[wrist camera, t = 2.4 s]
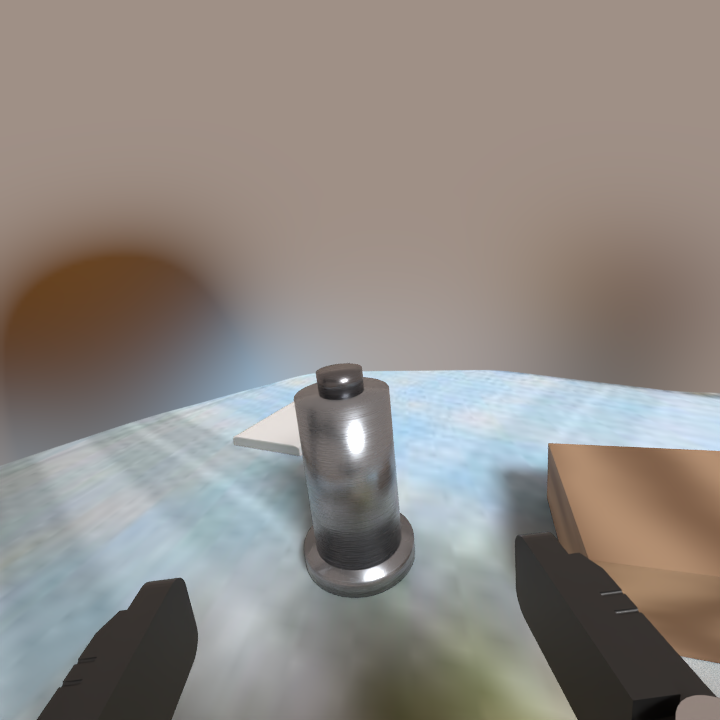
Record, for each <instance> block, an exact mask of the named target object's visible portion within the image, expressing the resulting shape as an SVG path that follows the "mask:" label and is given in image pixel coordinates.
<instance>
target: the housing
mask: <svg viewBox="0 0 720 720" xmlns="http://www.w3.org/2000/svg"><path fill="white" fill-rule="evenodd" d="M316 378H317V383H315V384H312V385H310V386H307V387H305V388H303V389H301V390H300V391H299V392H297V393H296V395H295V396H294V404H295V410H296V417H297V423H298V430H299V436H300V443H301V450H302V456H303V463H304V469H305V476H306V482H307V489H308V495H309V502H310V509H311V515H312V522H313V525H312V527H311V528H310V530H309V531H308V533H307V535H306V538H305V542H304V552H305V558H306V564H307V569H308V572H309V575H310V576H311V578H312V579H313V581H314V582H315V583H316V584H317V585H318V586H319V587H321V588H322V589H324V590H325V591H327V592H329V593H332V594H334V595H338V596H342V597H350V598H359V597H367V596H372V595H376V594H379V593H382V592H384V591H386V590H388V589H390V588H392V587H393V586H395V585H396V584H397V583H399V582H400V581H401V580H402V579H403V578H404V577H405V576H406V575H407V573H408V572H409V570H410V569H411V567H412V565H413V561H414V557H415V545H414V533H413V529H412V526H411V524H410V523H409V521H408V520H407V519H406V517H405V516H404V515H402V514H401V513H400V511H399V499H398V488H397V476H396V464H395V453H394V441H393V429H392V418H391V406H390V395H389V386H388V385H387V384H386V383H385V382H383V381H381V380H378V379H373V378H366V377H363V374H362V367H361V366H360V365H358V364H350V363H348V364H335V365H330V366H326V367H323V368H321V369H319V370H317V371H316Z"/></svg>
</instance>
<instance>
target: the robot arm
mask: <svg viewBox="0 0 720 720" xmlns="http://www.w3.org/2000/svg"><path fill="white" fill-rule="evenodd" d="M515 562H516V592H517V597H518V601H519V605H520V608H521V611H522V613H523V616H524V618H525V620H526V622H527V624H528V626H529V628H530V630H531V632H532V633H533V635H534V637H535V639H536V641H537V643H538V645H539V647H540V649H541V651H542V653H543V654H544V656H545V658H546V660H547V662H548V664H549V666H550V668H551V670H552V672H553V674H554V675H555V677H556V679H557V681H558V683H559V685H560V687H561V689H562V691H563V693H564V694H565V696H566V698H567V700H568V702H569V704H570V706H571V708H572V710H573V712H574V714H575V715H576V717H577V719H578V720H720V698H718V697H716V696H715V695H714V693H713V692H712V691H711V690H710V689H709V688H708V687H707V686H706V685H705V684H704V683H703V681H702V680H701V679H700V678H699V677H698V676H697V675H696V674H695V672H694V671H693V670H692V669H691V668H690V667H689V666H688V664H687V663H686V662H685V661H684V660H683V659H682V658H681V656H680V655H679V654H678V653H677V652H676V651H675V650H674V648H673V647H672V646H671V645H670V644H669V643H668V642H667V641H666V639H665V638H664V637H663V636H662V635H661V634H660V633H659V631H658V630H657V629H656V628H655V627H654V626H653V625H652V623H651V622H650V621H649V620H648V619H647V618H646V617H645V615H644V614H643V613H642V612H639V611H638V608H637V606H636V605H635V604H634V603H633V602H632V601H631V600H630V598H629V597H628V596H627V595H626V594H623V592H622V589H621V588H620V587H619V586H618V585H617V584H616V582H615V581H614V580H613V579H612V578H611V577H610V576H609V575H608V573H607V572H606V571H605V570H604V569H603V568H602V567H600V566H599V565H597V564H596V563H594V562H593V561H591V560H590V559H588V558H587V557H585V556H584V555H582V554H581V553H572V554H568V553H567V551H566V550H565V549H564V548H563V546H562V545H561V544H560V543H559V541H558V540H557V539H556V538H555V536H554V535H553V534H552V533H550V532H541V533H533V534H526V535H518V536H517V537H516V539H515ZM197 643H198V632H197V626H196V622H195V618H194V614H193V611H192V607H191V603H190V599H189V595H188V592H187V588H186V584H185V582H184V580H183V579H182V578H174V579H167V580H159V581H151V582H147V583H145V584H144V585H143V586H142V588H141V589H140V591H139V592H138V594H137V595H136V597H135V598H134V600H133V602H132V603H131V605H130V606H129V608H128V609H127V610H122V611H119V612H118V613H117V614H116V615H115V616H114V617H113V618H112V619H111V620H110V621H108V622H107V623H106V624H105V625H104V626H103V627H102V628H101V629H100V630H99V631H98V632H97V633H96V634H95V635H94V637H93V638H92V640H91V641H90V643H89V644H88V646H87V647H86V649H85V650H84V652H83V653H82V654H81V656H80V657H79V659H78V663H77V664H75V665H74V666H73V668H72V669H71V670H70V672H69V673H68V675H67V676H66V678H65V679H64V681H63V685H62V687H60V688H58V689H57V691H56V692H55V694H54V695H53V697H52V698H51V700H50V701H49V703H48V704H47V706H46V707H45V708H44V710H43V711H42V713H41V714H40V716H39V717H38V719H37V720H171V719H172V717H173V714H174V712H175V709H176V706H177V704H178V701H179V699H180V696H181V693H182V691H183V688H184V686H185V683H186V680H187V678H188V675H189V673H190V670H191V667H192V665H193V662H194V659H195V655H196V651H197Z"/></svg>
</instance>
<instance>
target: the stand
mask: <svg viewBox="0 0 720 720" xmlns="http://www.w3.org/2000/svg"><path fill="white" fill-rule="evenodd" d="M547 499H548V503H549V507H550V511H551V514H552V518H553V522H554V526H555V529H556V533H557V537H558V541H559V543H560V544H561V545H562V546H563V548H564V549H565V550H566V551H567V553H568V554H572V553H581V554H582V555H584V556H585V557H587V558H588V559H590V560H591V561H593V562H594V563H596V564H597V565H599V566H600V567H602V568H603V569H604V570H605V571H606V572H607V573H608V575H609V576H610V577H611V578H612V579H613V580H614V581H615V582H616V584H617V585H618V586H619V587H620V588H621V589H622V592H623V594H626V595H627V596H628V597H629V598H630V600H631V601H632V602H633V603H634V604H635V605H636V606H637V608H638V611H639V612H642V613H643V614H644V615H645V617H646V618H647V619H648V620H649V621H650V622H651V623H652V625H653V626H654V627H655V628H656V629H657V630H658V631H659V633H660V634H661V635H662V636H663V637H664V638H665V639H666V641H667V642H668V643H669V644H670V645H671V646H672V647H673V648H674V650H675V651H676V652H677V653H678V654H679V655H680V656H684V657H689V658H694V659H700V660H705V661H710V662H716V663H720V451H706V450H685V449H663V448H641V447H619V446H597V445H575V444H553V443H548V479H547Z"/></svg>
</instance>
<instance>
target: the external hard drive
mask: <svg viewBox="0 0 720 720" xmlns="http://www.w3.org/2000/svg"><path fill="white" fill-rule="evenodd" d="M233 440H234V445H236V446H242V447H248V448H254V449H260V450H266V451H272V452H278V453H284V454H289V455H295V456H301V455H302V450H301V443H300V436H299V430H298V423H297V417H296V410H295V404H294V402H292V403H291V404H289V405H287V406H285V407H284V408H282V409H280V410H279V411H277V412H275V413H274V414H272V415H270V416H268V417H267V418H265V419H263V420H262V421H260V422H258V423H257V424H255V425H253V426H251V427H250V428H248V429H246V430H245V431H243V432H241V433H240V434H238V435H236V436H235V437H234V438H233Z"/></svg>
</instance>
